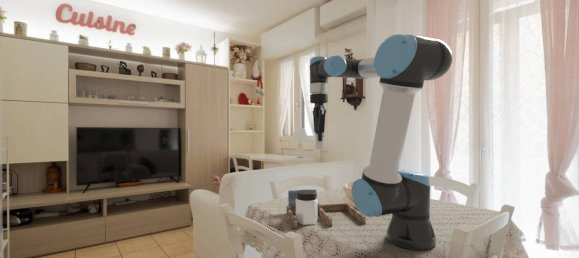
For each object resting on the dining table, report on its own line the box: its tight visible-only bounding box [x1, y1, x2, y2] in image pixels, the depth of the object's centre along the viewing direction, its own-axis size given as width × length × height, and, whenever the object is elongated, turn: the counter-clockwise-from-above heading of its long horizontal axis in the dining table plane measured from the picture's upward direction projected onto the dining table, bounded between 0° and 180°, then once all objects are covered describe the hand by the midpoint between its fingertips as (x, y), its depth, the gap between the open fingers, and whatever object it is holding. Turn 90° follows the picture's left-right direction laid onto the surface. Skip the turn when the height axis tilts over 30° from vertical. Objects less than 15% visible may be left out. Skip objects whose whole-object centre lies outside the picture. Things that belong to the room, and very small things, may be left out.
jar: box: [295, 189, 319, 226], centre depth 117 cm, size 9×8×12 cm
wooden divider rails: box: [286, 188, 367, 230], centre depth 120 cm, size 20×28×10 cm
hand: (319, 148), depth 125 cm, fingers closed
